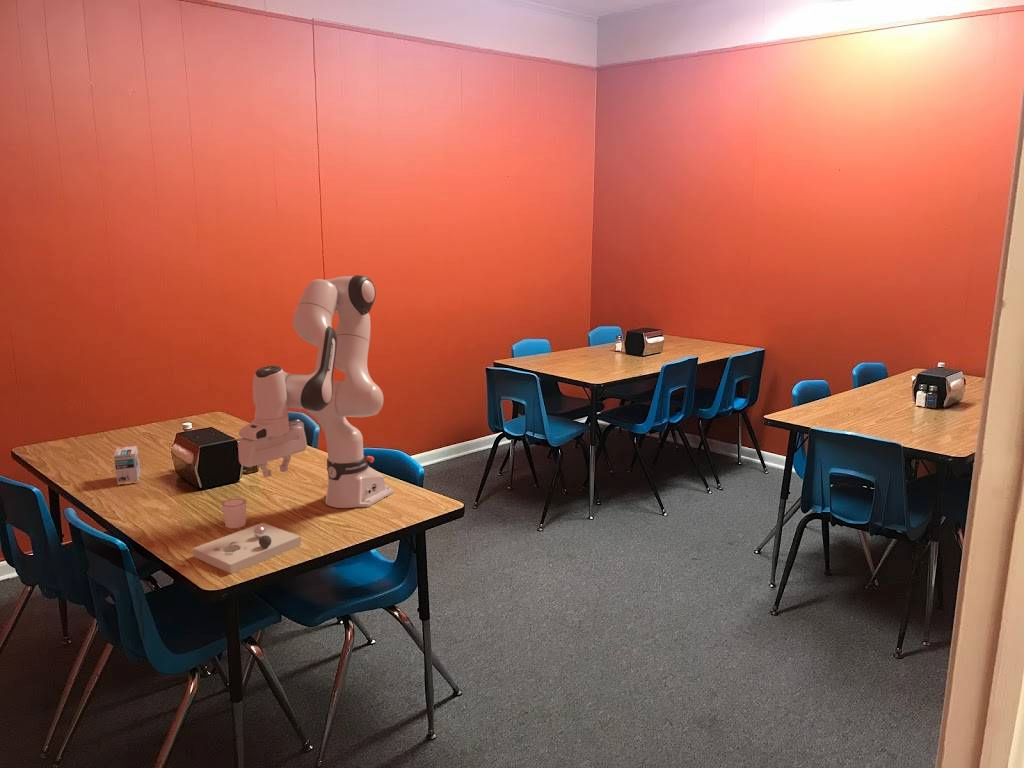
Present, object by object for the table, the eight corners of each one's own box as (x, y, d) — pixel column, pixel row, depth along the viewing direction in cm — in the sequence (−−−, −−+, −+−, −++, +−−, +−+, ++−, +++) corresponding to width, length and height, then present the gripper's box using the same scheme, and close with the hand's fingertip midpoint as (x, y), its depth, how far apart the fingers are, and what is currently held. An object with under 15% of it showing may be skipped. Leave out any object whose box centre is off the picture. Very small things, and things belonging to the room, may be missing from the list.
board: (263, 530, 225) (262, 522, 224) (301, 544, 215) (300, 536, 214) (193, 556, 208) (192, 548, 207) (231, 573, 198) (230, 564, 197)
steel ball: (261, 534, 216) (260, 523, 215) (268, 536, 214) (267, 526, 213) (251, 538, 213) (250, 527, 213) (258, 540, 212) (257, 529, 211)
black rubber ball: (266, 543, 210) (266, 532, 209) (274, 546, 208) (273, 535, 207) (256, 547, 207) (255, 536, 207) (264, 550, 206) (263, 539, 205)
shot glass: (250, 520, 233) (249, 498, 231) (243, 529, 226) (242, 506, 225) (227, 520, 233) (225, 498, 231) (220, 529, 226) (218, 506, 224)
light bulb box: (138, 483, 265) (135, 453, 263) (116, 486, 263) (113, 455, 260) (140, 474, 275) (137, 445, 273) (119, 476, 272) (116, 447, 270)
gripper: (295, 416, 222) (298, 462, 225) (233, 432, 206) (237, 481, 209) (310, 419, 219) (312, 466, 222) (247, 436, 203) (251, 486, 206)
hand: (275, 473), depth 215 cm, fingers open, 4 cm apart
